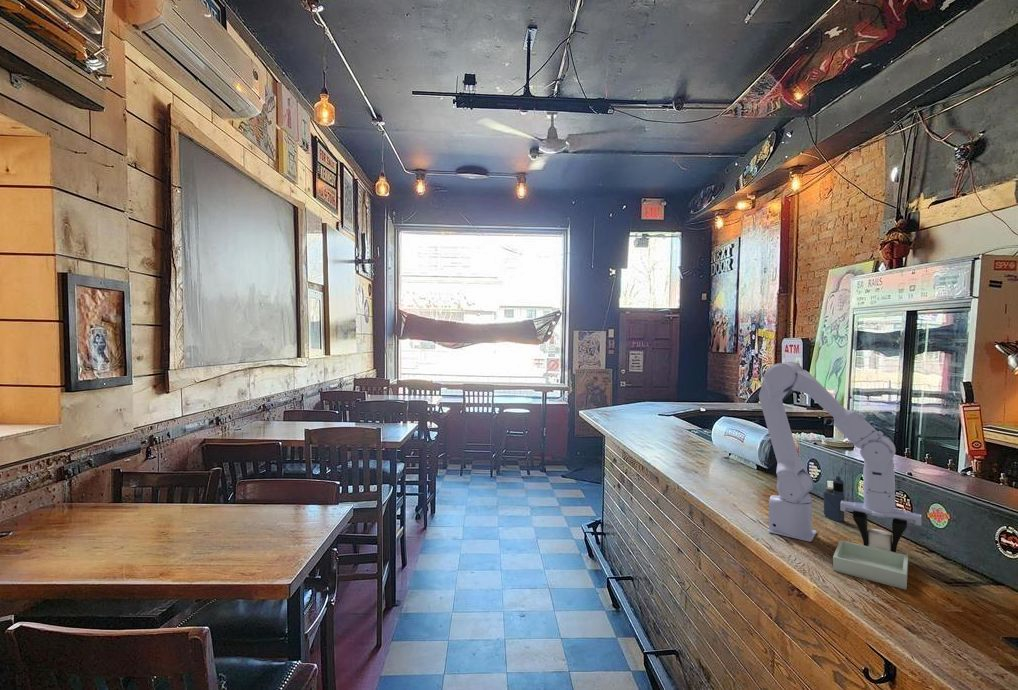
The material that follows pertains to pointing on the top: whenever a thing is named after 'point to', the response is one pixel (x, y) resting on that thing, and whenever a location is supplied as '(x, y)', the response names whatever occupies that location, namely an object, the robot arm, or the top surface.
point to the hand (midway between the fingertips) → (879, 548)
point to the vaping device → (834, 500)
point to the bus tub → (871, 564)
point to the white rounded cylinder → (880, 539)
